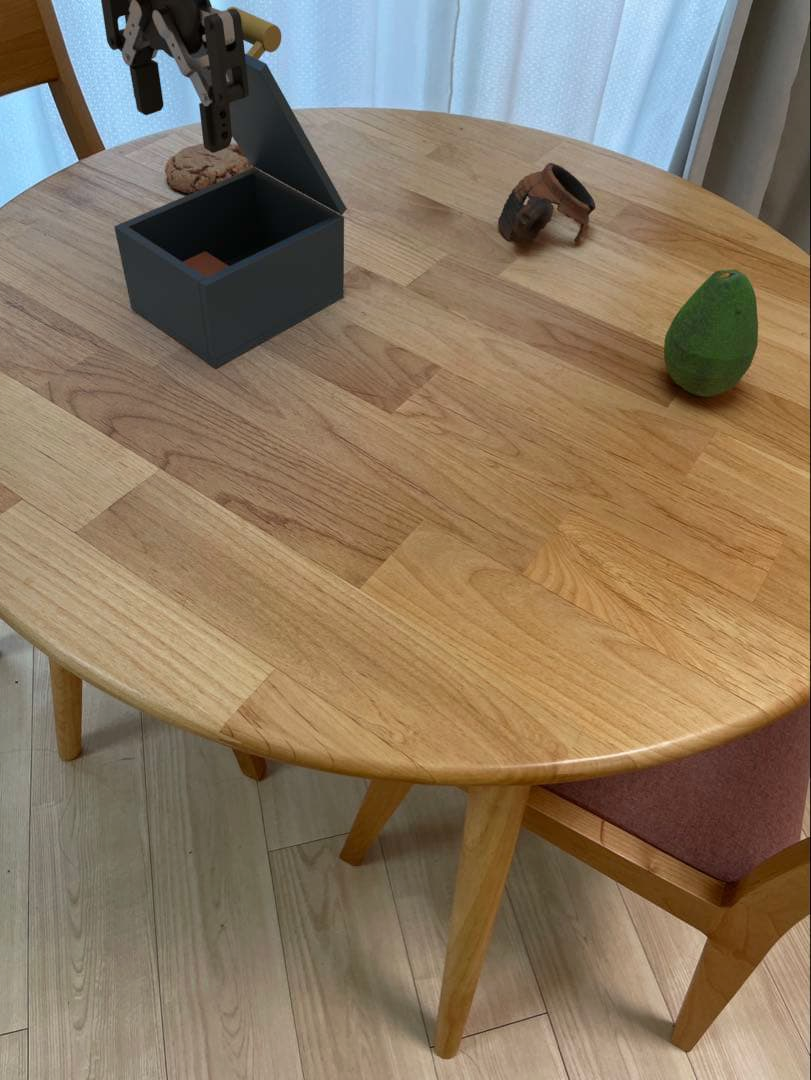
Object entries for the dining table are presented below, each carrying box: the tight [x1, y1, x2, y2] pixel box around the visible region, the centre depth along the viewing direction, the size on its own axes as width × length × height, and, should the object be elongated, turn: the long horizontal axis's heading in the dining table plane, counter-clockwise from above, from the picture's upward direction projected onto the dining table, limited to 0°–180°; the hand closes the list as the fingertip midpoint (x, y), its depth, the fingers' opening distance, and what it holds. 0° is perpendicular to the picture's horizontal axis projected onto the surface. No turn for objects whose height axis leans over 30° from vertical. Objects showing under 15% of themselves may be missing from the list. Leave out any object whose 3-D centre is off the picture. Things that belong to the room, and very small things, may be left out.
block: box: [183, 251, 230, 278], centre depth 84 cm, size 5×5×5 cm
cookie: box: [164, 143, 253, 194], centre depth 103 cm, size 10×11×3 cm
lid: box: [190, 6, 348, 216], centre depth 77 cm, size 18×13×5 cm
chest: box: [113, 167, 345, 369], centre depth 85 cm, size 17×13×9 cm
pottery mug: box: [497, 162, 596, 244], centre depth 98 cm, size 12×10×8 cm
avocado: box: [663, 269, 759, 398], centre depth 79 cm, size 8×8×12 cm
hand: (183, 129), depth 72 cm, fingers open, 8 cm apart
